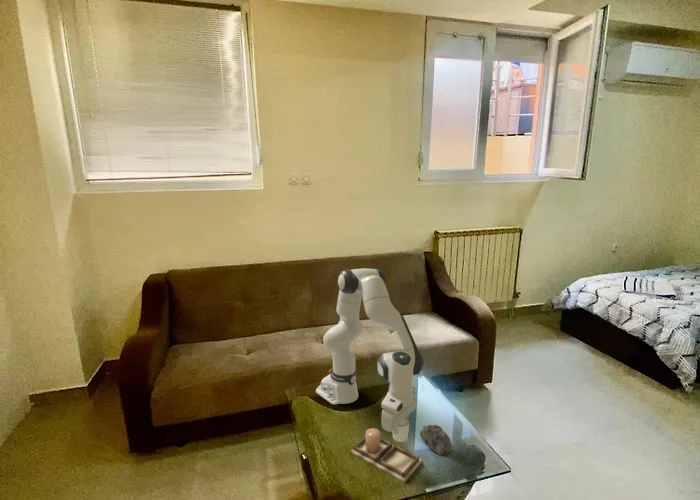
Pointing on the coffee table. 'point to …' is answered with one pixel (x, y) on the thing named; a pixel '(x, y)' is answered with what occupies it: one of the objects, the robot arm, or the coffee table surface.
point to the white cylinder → (402, 431)
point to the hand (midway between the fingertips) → (400, 428)
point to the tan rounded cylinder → (373, 440)
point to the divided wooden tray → (389, 459)
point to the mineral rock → (436, 439)
